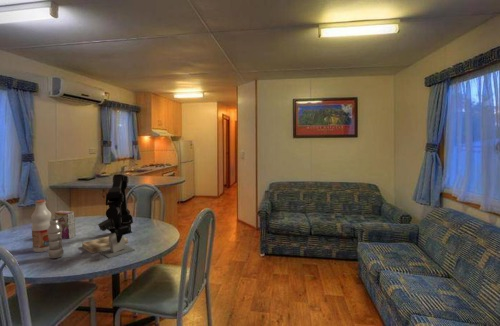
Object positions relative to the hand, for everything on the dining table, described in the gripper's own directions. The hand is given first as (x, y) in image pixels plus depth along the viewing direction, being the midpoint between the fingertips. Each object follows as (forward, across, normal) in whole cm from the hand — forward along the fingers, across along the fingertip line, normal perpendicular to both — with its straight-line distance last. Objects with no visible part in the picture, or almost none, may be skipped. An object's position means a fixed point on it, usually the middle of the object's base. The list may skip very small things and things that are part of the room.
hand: (116, 241), depth 153 cm
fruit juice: (+6, -36, -25) cm, 44 cm away
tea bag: (+5, 0, +1) cm, 5 cm away
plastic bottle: (+6, -17, -24) cm, 30 cm away
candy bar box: (+6, -50, -10) cm, 51 cm away
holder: (+6, -15, 0) cm, 16 cm away
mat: (+5, 0, 0) cm, 5 cm away
